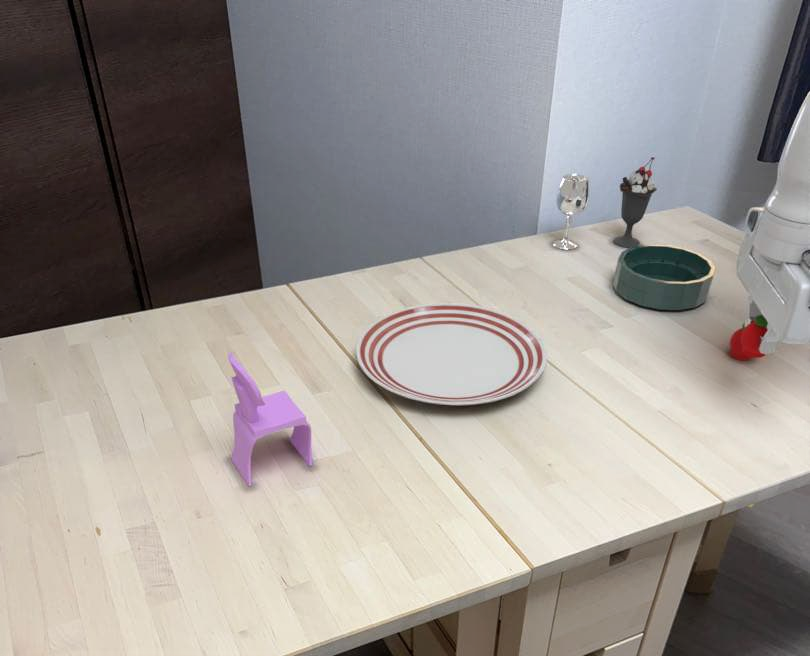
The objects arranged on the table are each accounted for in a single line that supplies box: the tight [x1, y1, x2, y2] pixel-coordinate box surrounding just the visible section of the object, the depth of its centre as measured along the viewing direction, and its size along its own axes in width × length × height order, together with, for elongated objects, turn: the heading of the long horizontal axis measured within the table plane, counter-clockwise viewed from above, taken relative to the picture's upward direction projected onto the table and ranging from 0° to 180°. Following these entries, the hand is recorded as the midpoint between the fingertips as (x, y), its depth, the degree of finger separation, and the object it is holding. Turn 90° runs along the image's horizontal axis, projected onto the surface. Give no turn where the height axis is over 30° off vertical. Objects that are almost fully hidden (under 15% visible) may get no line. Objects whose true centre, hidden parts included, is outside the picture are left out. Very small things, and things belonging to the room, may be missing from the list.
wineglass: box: [552, 173, 590, 250], centre depth 138 cm, size 6×6×12 cm
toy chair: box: [227, 352, 313, 487], centre depth 87 cm, size 8×9×15 cm
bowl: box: [612, 243, 717, 311], centre depth 126 cm, size 16×16×5 cm
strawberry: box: [741, 315, 768, 359], centre depth 98 cm, size 4×4×5 cm
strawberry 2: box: [729, 322, 752, 361], centre depth 111 cm, size 4×4×5 cm
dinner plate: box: [355, 302, 548, 406], centre depth 108 cm, size 27×27×3 cm
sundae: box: [612, 156, 658, 249], centre depth 138 cm, size 7×7×15 cm
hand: (757, 340), depth 99 cm, fingers closed on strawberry, 4 cm apart
